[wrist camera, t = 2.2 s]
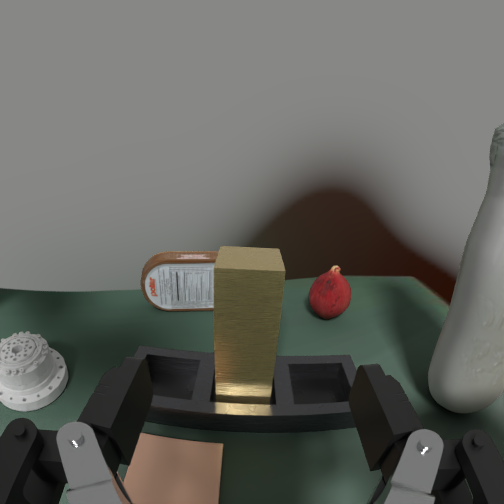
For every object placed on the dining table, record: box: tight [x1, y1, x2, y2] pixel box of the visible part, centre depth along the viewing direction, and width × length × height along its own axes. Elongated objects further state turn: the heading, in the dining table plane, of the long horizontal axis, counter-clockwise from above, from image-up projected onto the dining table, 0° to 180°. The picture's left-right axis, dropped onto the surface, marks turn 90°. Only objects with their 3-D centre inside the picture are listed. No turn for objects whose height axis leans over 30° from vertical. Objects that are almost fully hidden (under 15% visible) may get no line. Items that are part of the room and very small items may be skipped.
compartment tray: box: [134, 345, 357, 433], centre depth 25 cm, size 22×8×2 cm, turn 90°
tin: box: [141, 251, 219, 311], centre depth 40 cm, size 15×3×8 cm, turn 101°
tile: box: [123, 433, 223, 504], centre depth 16 cm, size 7×7×1 cm
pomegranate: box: [309, 266, 351, 319], centre depth 39 cm, size 6×6×8 cm
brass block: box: [214, 246, 285, 405], centre depth 23 cm, size 4×4×14 cm
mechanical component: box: [0, 331, 68, 411], centre depth 21 cm, size 10×4×10 cm
